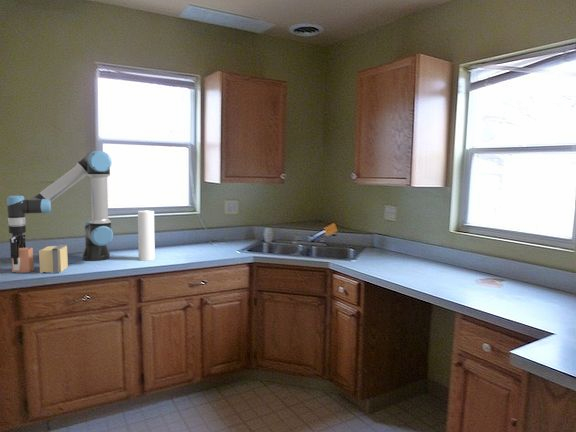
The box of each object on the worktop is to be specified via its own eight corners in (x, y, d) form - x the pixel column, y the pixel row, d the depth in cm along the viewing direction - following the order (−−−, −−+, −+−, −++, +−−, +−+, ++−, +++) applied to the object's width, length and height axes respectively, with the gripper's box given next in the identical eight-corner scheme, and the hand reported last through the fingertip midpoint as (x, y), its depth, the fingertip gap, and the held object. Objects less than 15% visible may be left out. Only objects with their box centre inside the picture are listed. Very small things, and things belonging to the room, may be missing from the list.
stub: (33, 269, 223) (32, 247, 221) (29, 272, 217) (28, 249, 216) (17, 269, 221) (15, 247, 220) (12, 272, 215) (11, 249, 214)
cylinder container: (157, 258, 256) (157, 210, 253) (148, 261, 248) (147, 211, 244) (145, 256, 259) (144, 209, 256) (135, 259, 251) (134, 210, 247)
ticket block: (68, 266, 231) (67, 243, 229) (60, 273, 216) (59, 248, 215) (49, 267, 229) (48, 243, 227) (38, 273, 214) (37, 249, 212)
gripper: (16, 223, 224) (18, 264, 227) (0, 228, 206) (3, 273, 208) (32, 222, 226) (34, 264, 229) (17, 227, 207) (20, 272, 210)
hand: (19, 268), depth 218 cm, fingers closed on stub, 6 cm apart
